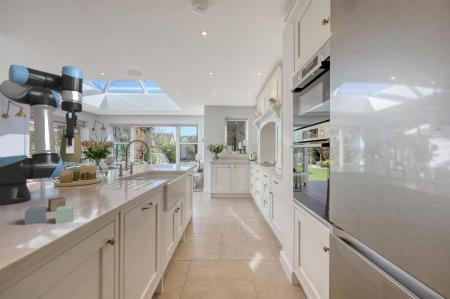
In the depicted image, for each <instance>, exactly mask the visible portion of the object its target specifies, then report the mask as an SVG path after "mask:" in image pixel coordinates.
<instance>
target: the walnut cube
mask: <svg viewBox="0 0 450 299" xmlns="http://www.w3.org/2000/svg"><path fill="white" fill-rule="evenodd" d="M47 201H48V202H47V210H48V211H49V212H50V211H51V212H50V213H53V211H54V212H56V209H57V208H58V207H63V206H66V198H65V197H63V196H59V197H52V198H47Z"/></svg>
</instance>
